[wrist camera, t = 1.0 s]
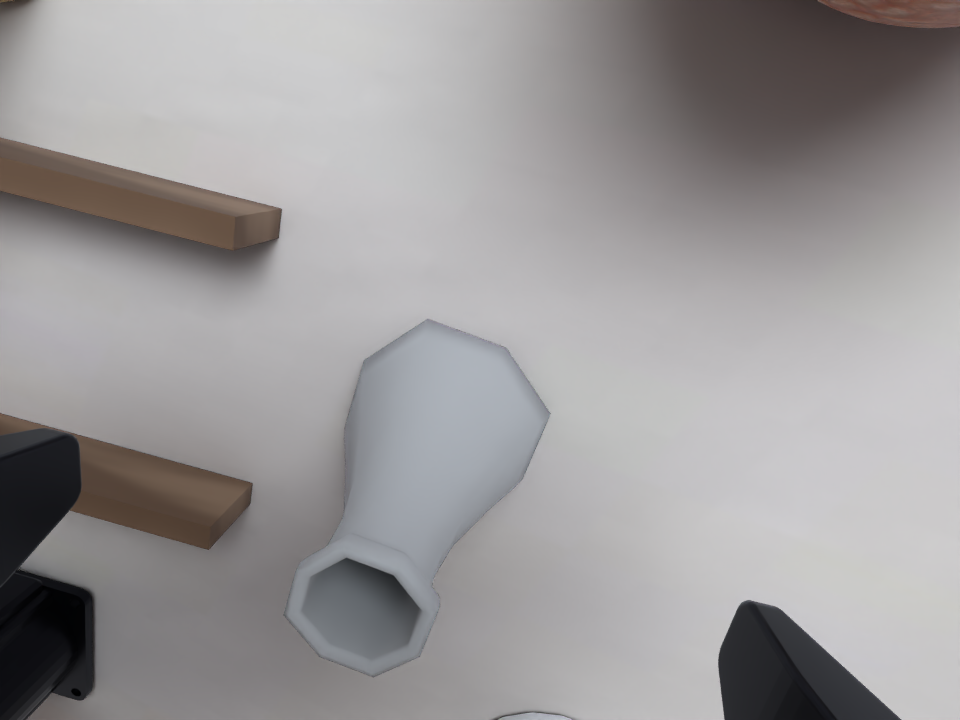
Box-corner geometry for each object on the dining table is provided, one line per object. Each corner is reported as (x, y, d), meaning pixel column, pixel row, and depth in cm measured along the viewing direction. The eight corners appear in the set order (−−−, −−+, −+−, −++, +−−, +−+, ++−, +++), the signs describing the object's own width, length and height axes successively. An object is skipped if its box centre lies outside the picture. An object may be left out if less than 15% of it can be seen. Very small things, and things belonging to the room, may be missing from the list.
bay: (248, 514, 24) (207, 561, 21) (-45, 432, 25) (-122, 467, 22) (283, 193, 20) (236, 199, 17) (-76, 103, 20) (-178, 94, 17)
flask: (465, 536, 23) (399, 792, 14) (315, 426, 22) (139, 617, 13) (587, 407, 21) (608, 612, 11) (423, 280, 20) (304, 386, 11)
